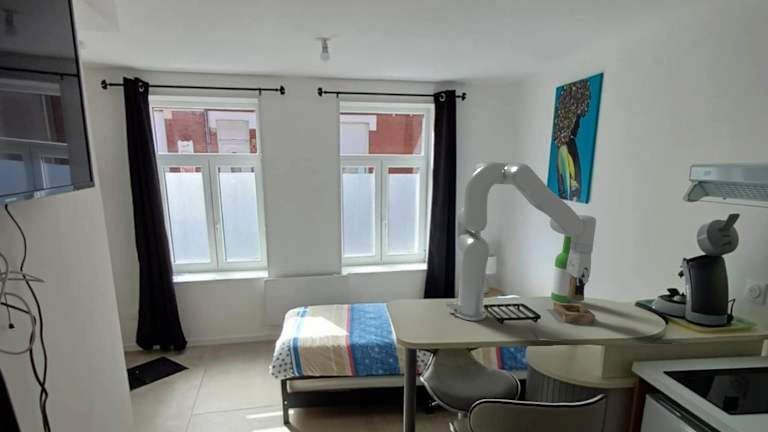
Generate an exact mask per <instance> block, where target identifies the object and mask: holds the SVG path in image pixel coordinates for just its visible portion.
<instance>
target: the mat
mask: <svg viewBox="0 0 768 432" xmlns="http://www.w3.org/2000/svg"><path fill="white" fill-rule="evenodd" d="M545 310H546V311H547V313H549V315H551V317H552V318H553V319H554V320H556V322H557V323H558V324H567V325H568V324H569V325H581V326H582V325H583V326H596V327H597V324H595V323H594V324H584V323H569V322H564V321H563V320H562V319H561V318H560V317H559V316H558V315H557V314H556V313H555V312H554V311H553V309H547V308H545Z"/></svg>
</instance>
